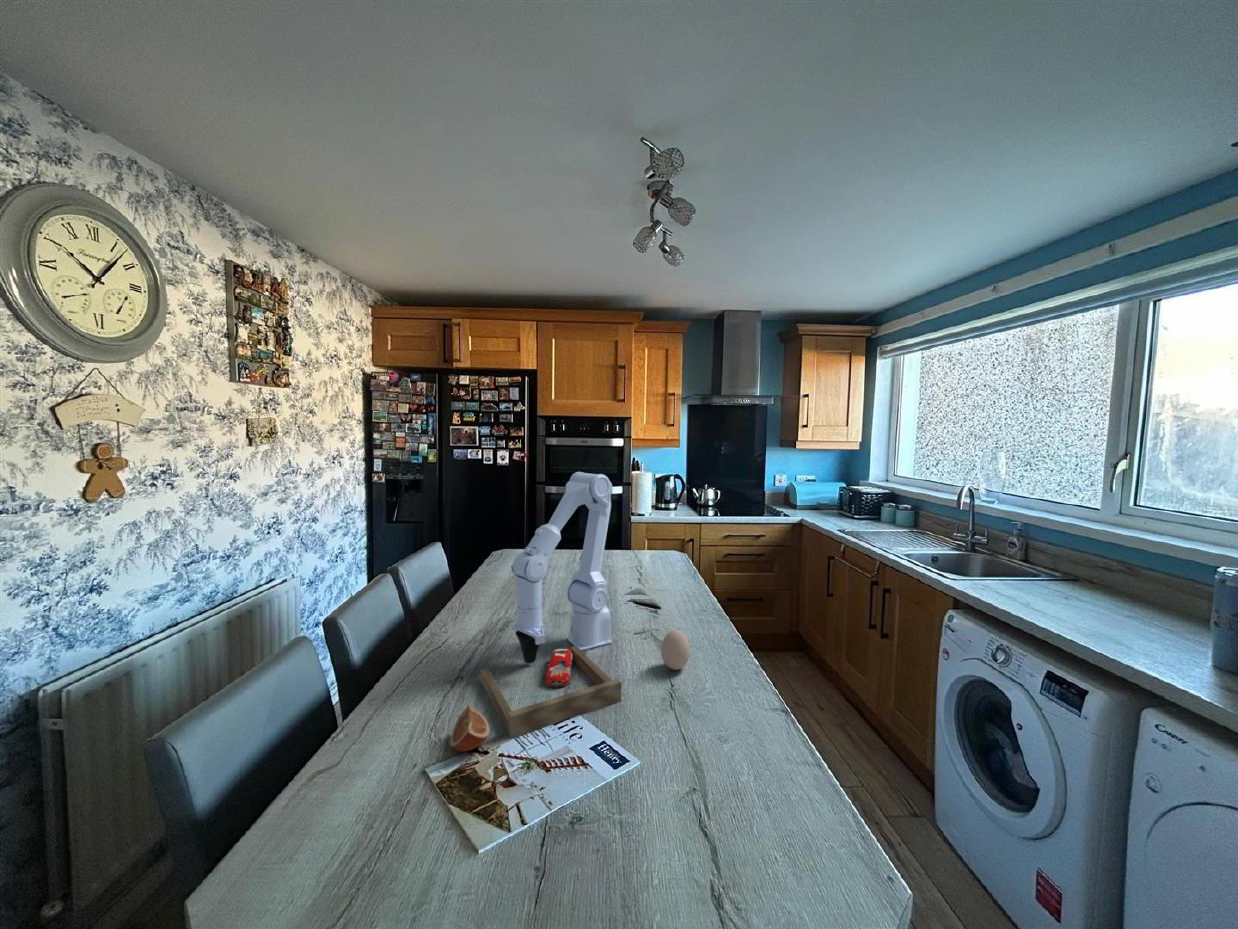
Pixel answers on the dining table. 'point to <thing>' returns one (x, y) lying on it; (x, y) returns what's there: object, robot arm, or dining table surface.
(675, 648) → the egg
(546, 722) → the garage bay
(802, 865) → the dining table surface
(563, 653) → the race car
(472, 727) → the fruit slice
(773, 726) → the dining table surface
